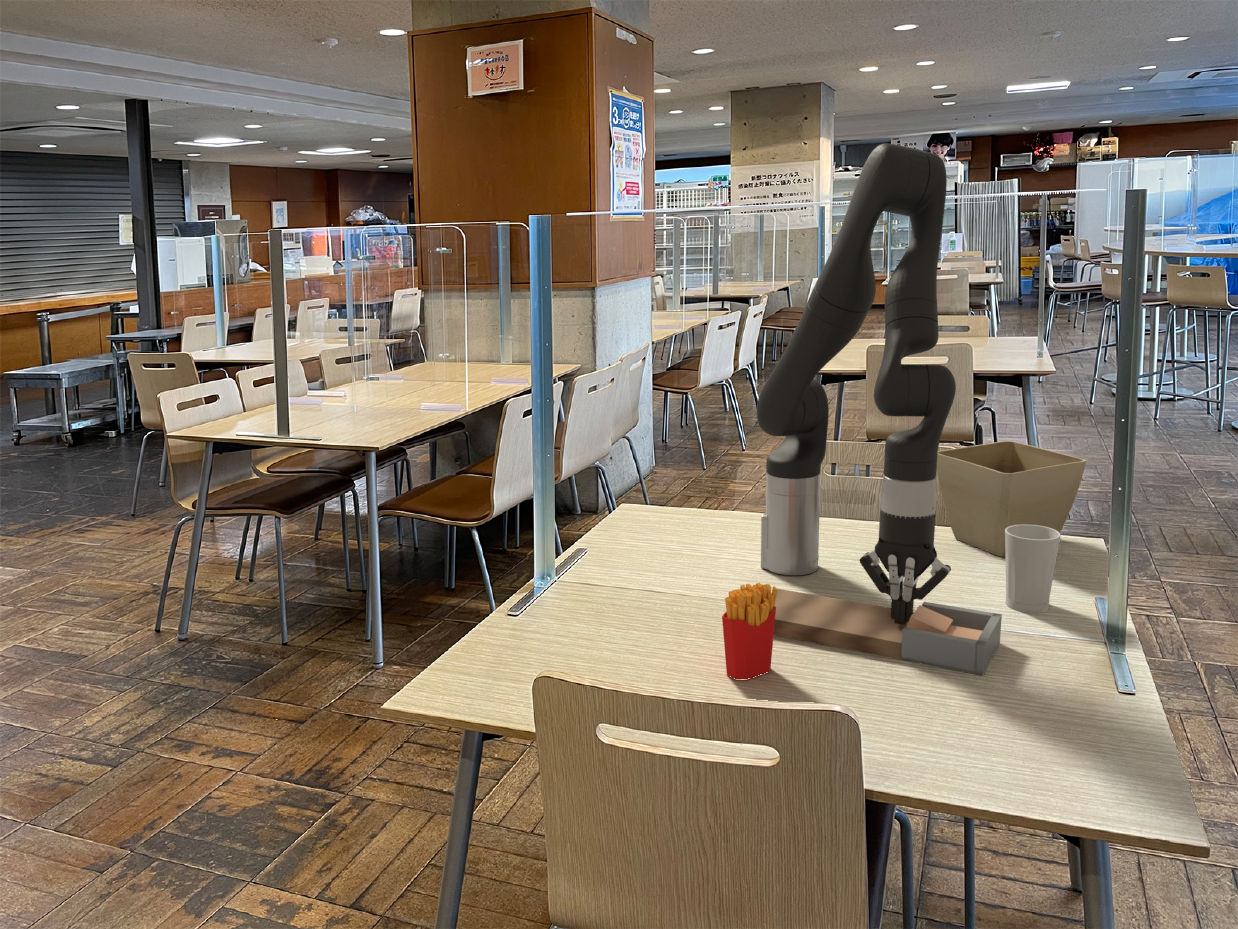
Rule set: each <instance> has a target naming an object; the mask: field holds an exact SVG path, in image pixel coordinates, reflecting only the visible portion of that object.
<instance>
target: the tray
mask: <svg viewBox="0 0 1238 929" xmlns="http://www.w3.org/2000/svg"><path fill="white" fill-rule="evenodd" d="M921 606H923V607H926V608H928V609H930V610H932V611H935V612H937V613H939V614H941V615H944V616H946V617H948V618H951V619H953V622H952V625H953V626H958V627H964V628H970V629H975V630H981V631H982V633H981V635H980V637H979V638H978V640H973V639H968V638H962V637H957V636H951V635H946V634H940V633H934V632H929V631H923V630H918V629H912V628H907V627H904V629H903V630H902V646H901V661H906V662H910V663H915V664H916V663H917V664H921V665H925V666H926V665H927V666H931V667H936V668H942V669H945V670H952V671H956V672H962V673H967V674H972V675H978V676H984V674H985V672H986V671H987V669H988V667H989V665H990V663H991V661H992V659H993V657H994V655H995V653H996V652H997V649H998V648H999V645H1000V643H1001V631H1002V616H1003V614H1002V613H995V612H991V611H990V612H989V611H985V610H984V611H983V610H978V609H977V610H976V609H971V608H965V607H959V606H953V605H947V604H943V603H942V604H940V603H936V602H929V601H923V602H922V604H921Z"/></svg>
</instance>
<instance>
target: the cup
mask: <svg viewBox="0 0 1238 929" xmlns="http://www.w3.org/2000/svg"><path fill="white" fill-rule="evenodd" d="M1060 541H1061V532H1060V533H1059V532H1058V531H1057V530H1054V529H1052V528H1048V527H1044V526H1038V525H1013V526H1009V527H1007V528H1006V529H1005V550H1006V556H1005V605H1006V607H1007V608H1010V609H1011V610H1015V611H1017V612H1021V613H1023V612H1024V613H1031V614H1035V613H1037V614H1038V613H1039V614H1040V613H1044V612H1046V611H1048V610H1049V606H1050V597H1051V592H1052V586H1053V580H1054V575H1055V569H1056V562H1057V557H1058V552H1059V546H1060Z"/></svg>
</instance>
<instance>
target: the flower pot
mask: <svg viewBox="0 0 1238 929" xmlns="http://www.w3.org/2000/svg"><path fill="white" fill-rule="evenodd" d="M1086 466H1087V460H1086V459H1085V458H1080V457H1077V456H1073V455H1069V454H1065V453H1061V452H1057V451H1054V450H1050V449H1045V448H1042V447H1037V446H1035V445H1030V444H1026V443H1023V442H1017V441H1015V440H1005V441H1004V440H1003V441H996V442H990V443H984V444H977V445H969V446H963V447H956V448H951V449H944V450H943V449H942V450H938V455H937V471H936V477H937V481H938V485H939V490H940V494H941V498H942V503H943V507H944V509H945V512H946V517H947V519H948V522H949V525H950V529H951V531H952V534H953V536H954V538H955V539H956V540H959V541H960V542H963V543H965V544H969V545H970V546H973V547H976V548H978V549H980V550H983V551H984V552H987V553H989V554H993V555H995V556H997V557H1006V550H1005V529H1006V528H1007V527H1009V526H1013V525H1038V526H1044V527H1048V528H1052V529H1054V530H1057V531H1058V532H1059V533H1060V534H1061V532H1062V529H1063V527H1064V525H1065V524H1066V521H1067V518H1068V517H1069V515H1070V513H1071V510H1072V507H1073V504H1074V502H1075V500H1076V496H1077V494H1078V492H1079V488H1080V486H1081V485H1080V484H1081V483H1082V479H1083V476H1084V472H1085V468H1086Z"/></svg>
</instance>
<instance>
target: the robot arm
mask: <svg viewBox="0 0 1238 929" xmlns="http://www.w3.org/2000/svg"><path fill="white" fill-rule="evenodd" d="M945 165H946V164H945V162H944V160H943V159H942V158H941V157H940V156H939V155H938V154H935V153H934V152H930V151H927V150H923V149H917V148H913V147H909V146H908V147H907V146H903V145H899V144H895V143H881V144H878V145H877V146H876V147H875V148H874V149H873V150H872V151H871V152H870V154H869V155H868V158H866V160H865V163H864V164H863V167H862V168H861V172H860V173H859V176H858V179H857V182H856V184H855V187H854V190H853V192H852V196H851V199H850V201H849V204H848V207H847V211H846V212H845V216H844V219H843V222H842V224H841V226H840V229H839V232H838V234H837V237H836V238H835V239H836V240H834V244H833V246H832V248H831V250H830V252H829V255H828V258H827V260H826V261H825V264H824V266H823V268H822V270H821V272H820V274H819V276H818V278H817V280H816V281H815V284H814V287H813V288H812V291H811V293H810V295H809V297H808V300H807V302H806V304H805V307H804V308H803V312H802V314H801V316H800V319H799V321H798V322H797V325H796V326H795V329H794V331H793V332H792V335H791V336H790V338H789V341H788V343H787V345H786V348H785V349H784V351H783V353H782V355H781V357H780V358H779V360H778V362H777V363H776V365H775V366H774V368H773V370H772V372H771V374H770V375H769V377H768V378H767V380H766V382H765V383H764V385H763V386H762V389H761V391H760V393H759V395H758V400H757V402H756V419H757V423H758V425H759V428H760V430H762V431H763V432H764V433H765V434H767V435H769V436H772V437H785V438H784V440H783V441H782V443H781V444H780V445H779V446H778V447H777V448H776V449H774V450H773V451H772V452H771V453H769V454H768V456H767V458H766V462H765V464H766V466H765V467H766V468H765V472H766V475H765V476H766V478H765V480H766V481H765V513H764V514H762V515H761V519H760V520H761V522H760V524H761V525H760V528H761V529H760V530H761V531H760V540H761V541H760V568H761V569H766V570H767V571H769V572H772V573H774V574H779V575H785V576H803V575H809V574H813V573H814V572H817V570H818V568H819V560H820V558H819V549H820V548H819V546H820V511H821V510H820V509H821V473H822V472H821V470H822V468H821V467H822V463H823V461H824V459H825V456H826V452H827V441H828V439H827V438H828V428H829V413H830V412H829V409H830V408H829V400H828V395H827V393H826V390H825V389H824V387H823V385H822V384H821V383H820V382H819V381H818V380H816V379H815V378H816V377H817V375H818V373H819V372H820V371H821V370H822V369H823V368H824V367H825V366H826V365H827V364H828V363H829V362H830V361H831V360H832V359H833V358H834V357H836V356H837V355H838V354H839V353H840V352H841V351H843V349H844V348H845V347H846V346H847V345H848V344H850V342H851V341H852V340H853V339H854V337H855V336H856V335H857V334H858V333H859V330H860V328H861V327H862V325H863V323H864V321H865V320H866V317H867V315H868V313H869V311H870V309H871V308H872V305H873V303H874V300H875V298H876V292H877V285H876V275H875V269H874V264H873V258H872V250H871V248H872V247H871V245H872V244H871V243H872V237H873V234H874V231H875V228H876V225H877V223H878V220H879V219H880V216H881V215H882V214H883V212H885V213H890V214H895V215H900V216H904V217H905V216H906V217H909V222H910V227H911V228H910V229H911V233H910V235H911V236H910V240H909V243H908V246H907V249H906V250H905V252H904V254H903V256H902V257H901V259H900V261H899V262H898V263H897V266H896V267H895V269H894V270H893V272H892V274H891V275H890V278H889V280H888V282H887V285H886V289H885V294H884V324H885V325H884V326H885V330H884V332H885V340H884V348H883V354H882V360H881V363H880V367H879V371H878V374H877V376H876V380H875V384H874V388H873V399H874V402H875V406H876V408H877V409H878V410H879V412H880V413H882V414H883V415H884V416H887V417H923V418H922V419H921V421H920V422H919V424H918V425H916V426H915V427H913V428H911V429H906V430H902V431H898V432H893V433H891V434H890V435H889V436H887V438H886V440H885V442H884V443H885V445H884V457H883V458H884V459H883V460H884V461H883V478H882V483H881V490H880V503H879V522H878V523H879V525H878V540H877V542H876V544H875V546H874V549H873V550H872V551H870V552H865V553H864V554H863V555H862V556H861V557H860V558H859V563H860V565H861V567H863V569H864V571H865V572H866V574H867V575H868V576H869V578H870V580H871V581H872V583H873V584H874V585H875V587H876V588H877V590H878V591H879V593H880V594H886V595H887V596H889V597H890V599H891V601H890V608H891V618H892V619H895V621H894V623H895V624H901V625H906V623H907V622H909V620H910V617H911V616H912V614H913V612H914V603H915V600H919V601H922V600H923V599H924V598H926V597H927V595H928V594H930V593H931V592H932V591H933V590H934V589H935V588H937V586H938V585H939V584H940V583H942V581H944V580H945V579H946V578H947V577H948V575H949V574H950V573H951V571H952V568H951V566H950V565H949V564H944V563H943V562H942V561H941V560H940V559H939V558H938V553H937V550H936V548H935V531H936V529H935V528H936V518H937V517H936V514H937V508H938V500H937V498H938V497H937V495H938V494H937V493H938V492H937V491H938V490H937V455H938V451H939V445H940V441H941V438H942V434H943V431H944V427H945V425H946V422H947V419H948V417H949V414H950V412H951V409H952V406H953V403H954V401H955V396H956V389H957V385H956V380H955V376H954V375H953V373H952V371H951V370H950V369H949V368H948V367H947V366H945V365H942V364H902V360H903V359H904V358H906V357H909V356H911V355H913V356H914V355H917V354H921V353H925V352H928V351H930V350H932V349H933V348H934V347H936V346H937V344H938V342H939V319H938V318H939V317H938V294H937V292H938V291H937V281H938V280H937V278H938V264H939V259H940V258H939V256H940V250H941V249H940V247H941V242H942V233H943V225H944V216H945V208H946V207H945V206H946V198H947V185H948V184H947V182H948V180H947V170H946V166H945ZM880 562H881V564H882V565H883V567H884V569H885V570H886V571H887V572H888V576H887V574H886V573H885V572H884V570H883V569H882V567H881V566H880ZM930 566H931V570H930V572H929V573H930V575H931V577H930V578H929V579H928V580H927V581H926V582H924V584H923V585H922V586H920V587H918V586H917V584H918V581H919V577H921V575H922V574H924V572H925V571H927V569H928V568H929V567H930Z"/></svg>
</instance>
